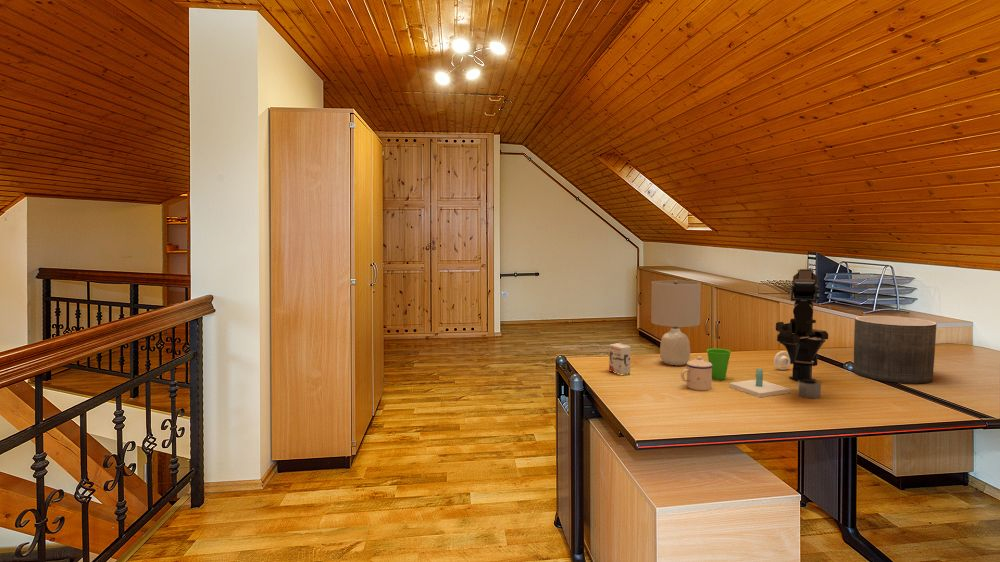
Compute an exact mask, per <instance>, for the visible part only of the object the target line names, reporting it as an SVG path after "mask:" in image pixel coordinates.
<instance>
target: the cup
mask: <svg viewBox="0 0 1000 562" xmlns="http://www.w3.org/2000/svg"><path fill="white" fill-rule="evenodd" d="M705 352H707V359H708V362H710V363H711V364H712V366H713V367H712V380H716V381H724V380H725V379H726V377H727V372H728V367H729V363H730V362H729V361H730V356H731V354H732V351H731V350H729V349H725V348H707V349H706V351H705Z"/></svg>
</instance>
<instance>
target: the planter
mask: <svg viewBox="0 0 1000 562" xmlns="http://www.w3.org/2000/svg"><path fill="white" fill-rule="evenodd" d="M853 337H854V338H853V366H852V367H853V368H852V370H853V373H855V374H857V375H859V376H862V377H863V378H866V379H869V380H870V379H871V380H876V381H880V382H887V383H893V384H894V383H898V384H909V385H914V384H915V385H916V384H917V385H919V384H920V385H921V384H928V383H931V382H933V381H934V367H935V353H936V339H937V338H936V337H937V322H935V321H933V320H928V319H924V318H923V319H922V318H916V317H907V316H906V317H905V316H895V315H894V316H893V315H892V316H891V315H861V316H856V317H854V334H853Z"/></svg>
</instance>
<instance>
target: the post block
mask: <svg viewBox="0 0 1000 562" xmlns="http://www.w3.org/2000/svg"><path fill="white" fill-rule="evenodd" d="M763 377H764V369H762V368H756V369H755V379H748V380H742V381H734V382H729V386H728V387H729V388H731V389H734V390H738V391H739V392H742V393H746V394H748V395H750V396H754V397H757V398H765V397H773V396H778V395H785V394H790V393H791V388H788V387H786V386H781V385H779V384H775V383H773V382H769V381H766V380H764V378H763Z"/></svg>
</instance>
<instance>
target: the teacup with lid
mask: <svg viewBox="0 0 1000 562" xmlns="http://www.w3.org/2000/svg"><path fill="white" fill-rule="evenodd" d="M712 367H713V366H712V364H711V363H710V362H709V361H707V360H706V359H703V356H700V355H698V356H696V358H694V359H692V360H689V361H688V362H687V363H686V368H684V369H683V370H682V371H681V372H680V378H681V380H682V382H685V383H686V388H689V389H690V390H695V391H709V390H711V389H712V386H713V385H712V384H713V383H712V381H713V379H712ZM685 374H686V378H685Z"/></svg>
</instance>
